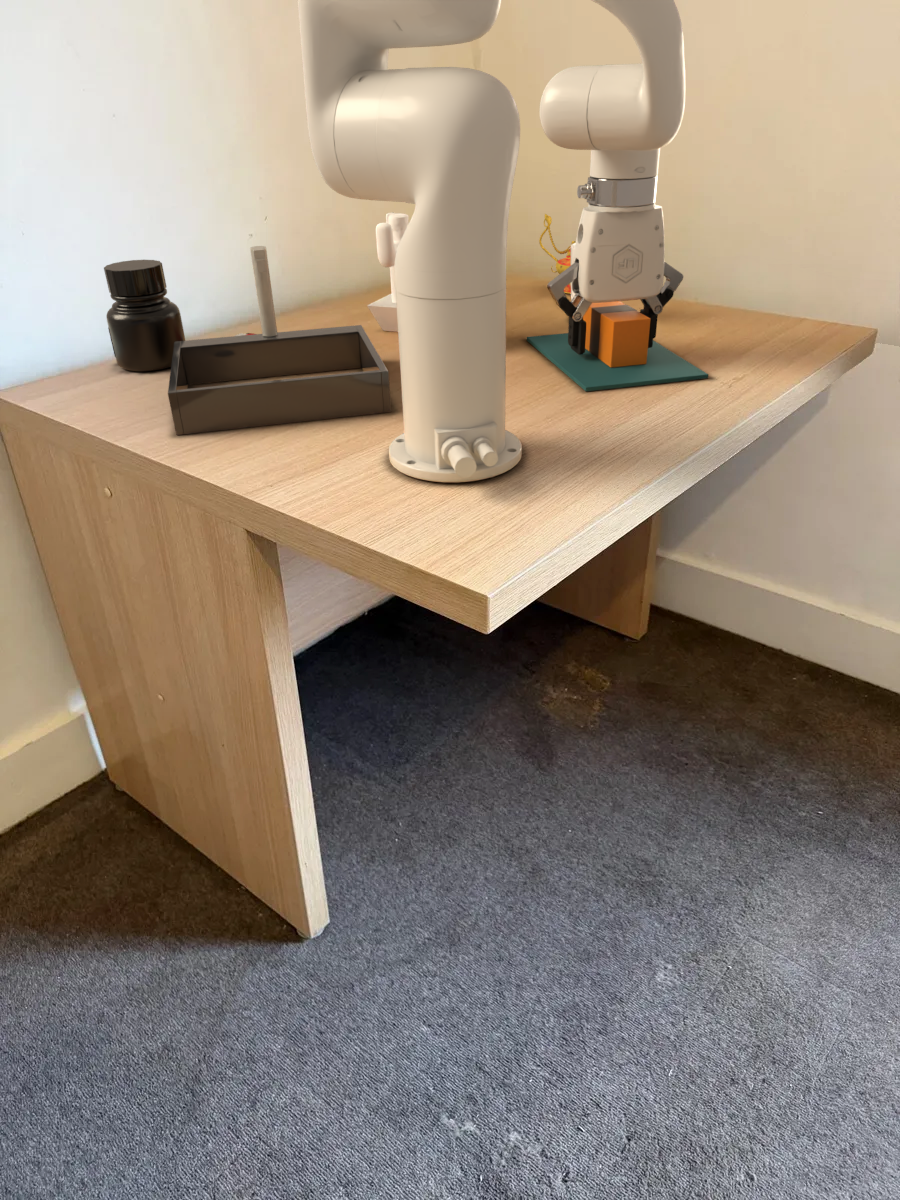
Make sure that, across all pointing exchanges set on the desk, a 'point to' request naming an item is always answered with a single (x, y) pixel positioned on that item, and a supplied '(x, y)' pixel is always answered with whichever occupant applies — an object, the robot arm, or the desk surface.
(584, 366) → the mat
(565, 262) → the magic lamp
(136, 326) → the ink bottle
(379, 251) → the figurine
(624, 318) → the orange striped block
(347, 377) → the sink basin
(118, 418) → the desk surface
